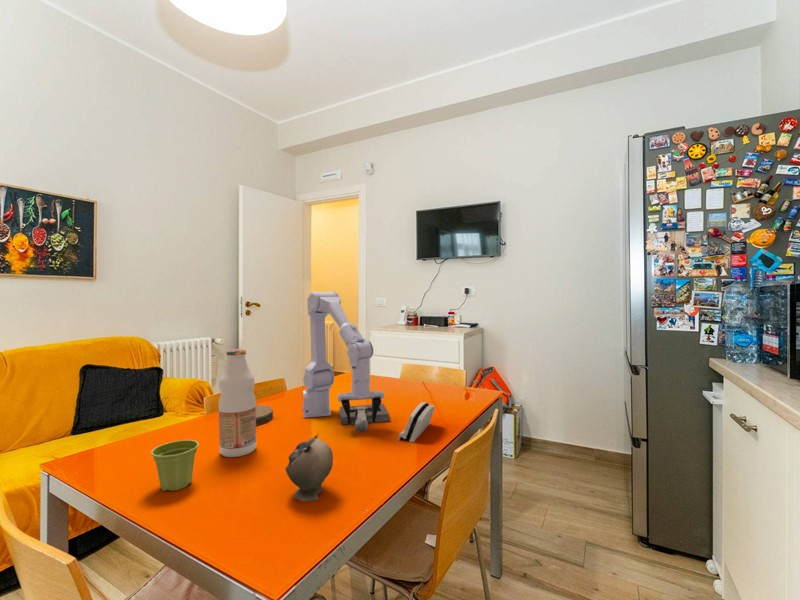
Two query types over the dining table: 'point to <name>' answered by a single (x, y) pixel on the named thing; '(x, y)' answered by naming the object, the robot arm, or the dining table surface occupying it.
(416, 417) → the white black-striped wedge
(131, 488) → the dining table surface
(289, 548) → the dining table surface
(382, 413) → the fitting block
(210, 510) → the dining table surface
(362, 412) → the cylinder
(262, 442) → the dining table surface
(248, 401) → the fruit juice
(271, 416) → the grey round disc
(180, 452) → the plant pot
